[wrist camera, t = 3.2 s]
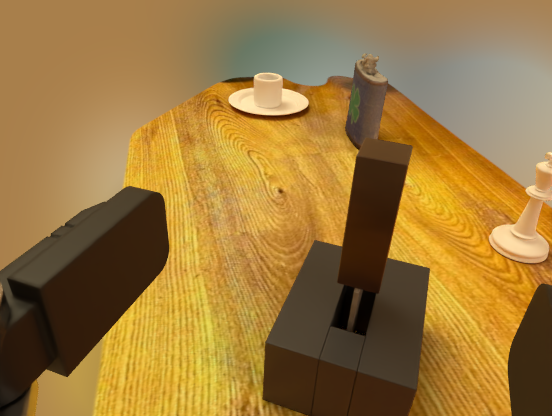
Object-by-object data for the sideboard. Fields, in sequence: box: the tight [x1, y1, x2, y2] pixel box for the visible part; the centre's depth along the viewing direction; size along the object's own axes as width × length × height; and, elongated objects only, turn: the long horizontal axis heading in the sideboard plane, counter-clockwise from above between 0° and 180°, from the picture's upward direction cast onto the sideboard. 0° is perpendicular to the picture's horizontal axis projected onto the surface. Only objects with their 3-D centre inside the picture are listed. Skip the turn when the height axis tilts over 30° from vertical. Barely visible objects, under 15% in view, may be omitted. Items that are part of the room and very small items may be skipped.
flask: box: [345, 54, 388, 150], centre depth 58 cm, size 9×3×11 cm, turn 4°
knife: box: [337, 138, 413, 333], centre depth 26 cm, size 2×3×15 cm
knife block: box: [263, 240, 430, 416], centre depth 29 cm, size 8×10×5 cm
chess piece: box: [489, 152, 552, 263], centre depth 39 cm, size 5×5×10 cm
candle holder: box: [229, 73, 309, 115], centre depth 68 cm, size 12×12×4 cm
